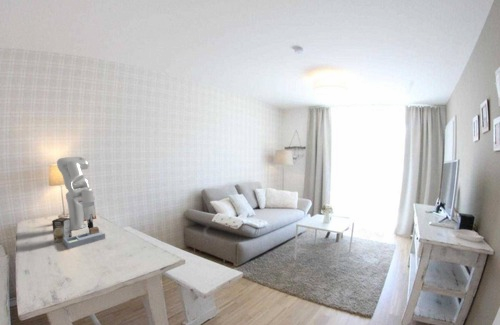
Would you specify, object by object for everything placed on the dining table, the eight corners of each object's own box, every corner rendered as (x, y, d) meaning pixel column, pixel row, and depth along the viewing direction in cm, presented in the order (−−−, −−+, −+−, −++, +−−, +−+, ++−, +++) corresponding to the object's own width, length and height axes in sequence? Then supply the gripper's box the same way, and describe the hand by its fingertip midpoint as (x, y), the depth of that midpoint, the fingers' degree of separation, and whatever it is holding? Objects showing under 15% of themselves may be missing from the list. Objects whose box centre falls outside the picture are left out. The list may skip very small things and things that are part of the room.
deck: (63, 243, 168) (62, 237, 168) (98, 233, 184) (98, 228, 184) (68, 249, 158) (67, 243, 157) (105, 238, 174) (105, 233, 174)
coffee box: (53, 242, 170) (51, 220, 169) (61, 238, 176) (59, 217, 175) (65, 242, 169) (63, 220, 168) (72, 239, 176) (70, 217, 174)
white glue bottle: (96, 217, 229) (94, 195, 228) (96, 218, 224) (94, 196, 223) (78, 220, 221) (76, 198, 220) (78, 221, 216) (76, 199, 215)
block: (89, 232, 178) (88, 228, 178) (96, 230, 182) (96, 226, 182) (91, 234, 175) (90, 229, 175) (98, 232, 179) (98, 227, 178)
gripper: (79, 204, 185) (82, 227, 186) (85, 206, 175) (87, 231, 176) (91, 202, 190) (93, 224, 192) (96, 204, 180) (99, 228, 182)
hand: (90, 227), depth 184 cm, fingers closed
